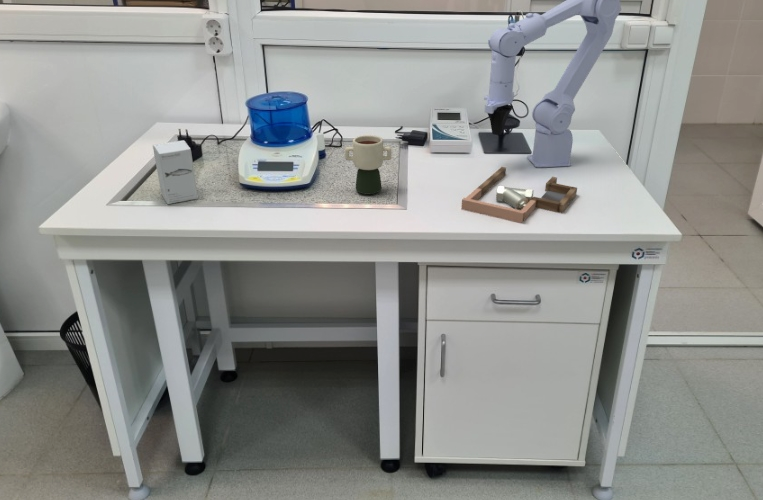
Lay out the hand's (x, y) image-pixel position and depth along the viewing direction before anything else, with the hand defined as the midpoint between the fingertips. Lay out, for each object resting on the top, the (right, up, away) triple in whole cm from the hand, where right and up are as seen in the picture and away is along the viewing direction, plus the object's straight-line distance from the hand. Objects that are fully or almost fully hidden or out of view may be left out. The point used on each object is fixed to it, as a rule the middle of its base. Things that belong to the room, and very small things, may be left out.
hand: (496, 134), depth 162 cm
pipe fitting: (+1, -19, -15) cm, 25 cm away
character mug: (-33, -15, -8) cm, 37 cm away
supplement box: (-78, -17, -11) cm, 80 cm away
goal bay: (-3, -20, -17) cm, 26 cm away
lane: (+6, -16, -9) cm, 19 cm away
